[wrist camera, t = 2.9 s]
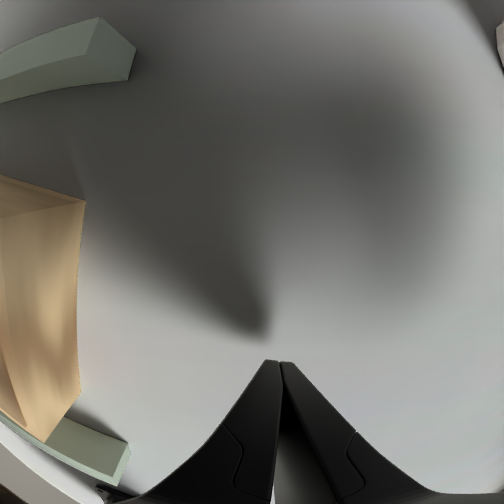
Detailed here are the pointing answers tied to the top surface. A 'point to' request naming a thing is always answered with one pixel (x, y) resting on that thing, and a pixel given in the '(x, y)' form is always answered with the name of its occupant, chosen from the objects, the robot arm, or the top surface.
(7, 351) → the box
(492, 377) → the top surface
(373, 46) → the top surface
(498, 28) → the white cup
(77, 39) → the bay
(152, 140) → the top surface
